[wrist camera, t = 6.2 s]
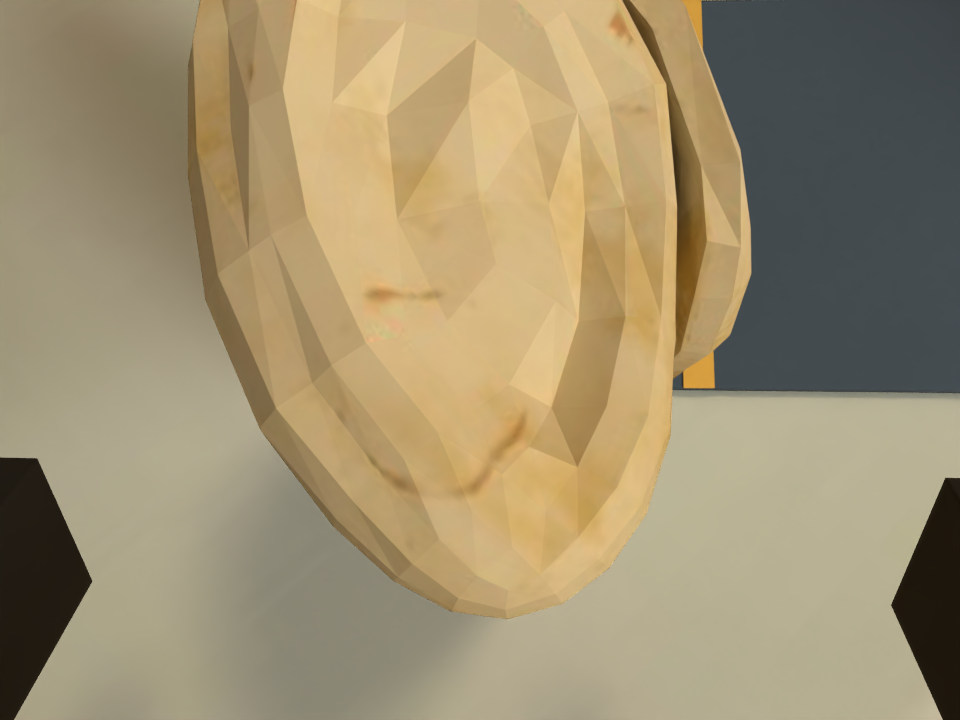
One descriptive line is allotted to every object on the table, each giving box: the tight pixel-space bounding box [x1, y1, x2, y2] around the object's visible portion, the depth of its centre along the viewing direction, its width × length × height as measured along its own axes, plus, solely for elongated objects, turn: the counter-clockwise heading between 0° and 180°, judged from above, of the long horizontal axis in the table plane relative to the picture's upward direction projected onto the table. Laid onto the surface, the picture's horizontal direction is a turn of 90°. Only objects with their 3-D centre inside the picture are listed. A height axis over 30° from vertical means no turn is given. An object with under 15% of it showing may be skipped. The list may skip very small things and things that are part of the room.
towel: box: [672, 0, 960, 393], centre depth 27 cm, size 18×14×1 cm
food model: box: [188, 0, 751, 619], centre depth 17 cm, size 10×7×20 cm
